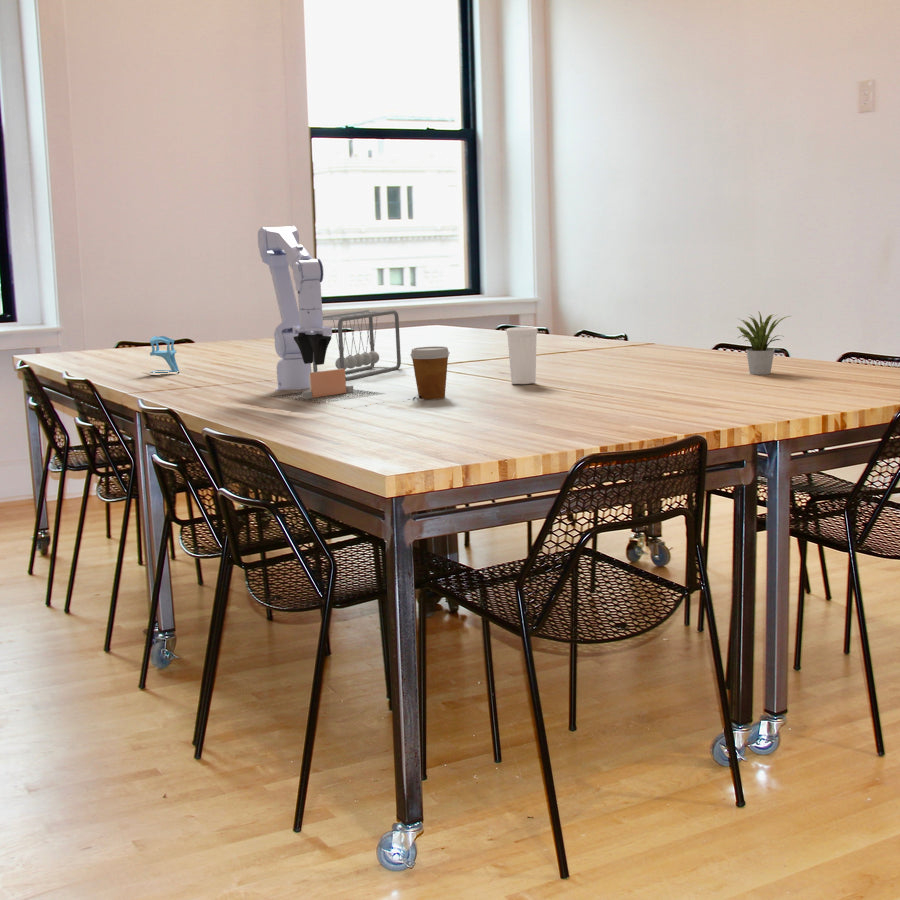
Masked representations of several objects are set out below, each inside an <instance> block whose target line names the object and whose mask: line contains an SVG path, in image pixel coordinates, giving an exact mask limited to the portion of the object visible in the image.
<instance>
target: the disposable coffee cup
mask: <svg viewBox="0 0 900 900" xmlns="http://www.w3.org/2000/svg"><path fill="white" fill-rule="evenodd" d="M409 356H411V357H410V358H411V361H412V364H413V365H412V366H413V370H414V371H413V372H414V377H415V384H416V388H417V394H418V399H419V400H426V401H428V400H430V401H433V400H441V399H442V400H443V399H444V398H445V397H446V390H447V389H446V385H447V376H448V375H447V374H448V362H449V360H448V359H449V356H450V351H449V348H448V346H438V345H437V346H420V347H413V348H412V349H411V353H410V354H409Z"/></svg>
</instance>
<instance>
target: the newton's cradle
mask: <svg viewBox="0 0 900 900" xmlns="http://www.w3.org/2000/svg"><path fill="white" fill-rule="evenodd" d="M387 315H388V316H389V315H394V325H395V326H394V327H395V347H396V350H395V351H396V365H395V366H375V364H377V363H378V362H379V360H380V354H379V353H378V352H377V351H375V343H376V339H375V336H376V335H377V334H376V333H377V329H375V332H374V324H373V318H374V317H381V316H387ZM367 318H368V325H367V322H366V319H367ZM399 318H400V317H399V313H398V312H397V310H396V309H395V310H393V309H391V310H385V311H384V310H381V311H380V310H379V311H370V310H359V311H351V312H345V313H344V312H343V313H338V314H337V313H335V314H329V315H323V321H325V320H326V321H332V322H333V326H334V332H335V336H336V337H335V338H336V341H337V343H338V344H337V346H338V353H339V357H338V358H337V359H336V361H335V363H334V364H335V367H336V369H342V368H343V369H345V374H346V375H350V373H351V374H354V373H355V374H354V375H351V376H346V375H345V379H346V382H348V381H349V382H350V381H354V380H357V379H362V378H366V377H371V376H375V375H380V374H385V373H389V372H392V371H397V370H399V369H400V367H401V364H402V360H401V359H402V357H401V339H400V319H399ZM363 319H364V322H365V328H366V332H367V339H366V344H369V346H370V352H369V351H368V352H367V350H368V347H366V348H365V349H366V350H365V349H364V347H365V346H364V343H363V339H362V332H361V331H362V327H363V323H361V324H360V325H361V327H360V325H359V321H358V320H361V321H363ZM335 320H336V321H337V320H338V322H337V330H336V325H335ZM352 320H354V321H353V325H356V324H355V323H357V325H358V329H359V330H358V331H359V341H360V342H361V343H362V349H363V350H362V351H363V352H362V353H360V352H357V348H356V343H355V338H354V333H355V328H353V329H352V323H351V321H352ZM355 320H356V321H357V322H356V321H355ZM348 321H349V325H350V329H351V331H352V332H351V334H352V341H351V346H353V344H354V348H355V353H356V354H354V355H352V354H353V353H352V352H353V348H351V350H350V351H351V353H350V352H349V348H348V347H349V346H348V343H347V337H346V333H347V329H345V328H344V325H343V322H345V327H347V323H348ZM375 321H376V324H375V326H377V325H378V324H377V323H378V319H376V320H375ZM344 329H345V330H344ZM313 333H314V331H313ZM337 334H338V335H337ZM343 334H344V335H343ZM343 336H344V338H343ZM345 342H346V343H345ZM368 342H369V343H368ZM361 343H359V344H358V345H359V347H358V351H360V348H361ZM344 344H346V348H347V351H348V352H347V353H348V355H347V356H346V357H345V356H344V352H345V351H344V350H345V346H344ZM356 367H357V368H356ZM312 368H313V369H312V370H313V372H318V365H316V364H315V361H314V354H313V363H312ZM347 369H348V370H347ZM371 369H377V370H372V371H369V370H371ZM364 370H365V371H369V372H364ZM359 371H360V372H364V373H360V372H359ZM356 373H359V374H356Z"/></svg>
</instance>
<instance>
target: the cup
mask: <svg viewBox="0 0 900 900" xmlns="http://www.w3.org/2000/svg"><path fill="white" fill-rule="evenodd" d="M538 331H539V329H538V327H536V326H535V327H534V326H521V327H520V326H519V327H516V326H515V327H509V328H506V335H507V342H508V343H507V344H508V357H509V369H510V382H511V384H514V385H526V384H527V385H528V384H529V385H530V384H534V383H536V380H537V335H538Z"/></svg>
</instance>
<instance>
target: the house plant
mask: <svg viewBox="0 0 900 900" xmlns="http://www.w3.org/2000/svg"><path fill="white" fill-rule="evenodd" d="M758 314H759V322H758V321H757V320H756V318H755V317H754V316H753V315H752V314H750V313H749V315H750V316H751V317H750V316H748V318H749V319H750V321H751V323H753V325H752V324H751V323H750V322H748V321H747V320H744V319H740V318H736V319H738V320H740V321H742V322H743V324H744V325H745V326H746V327H747V328H748V330H749V331H750V332H749V331H748V330H747V329H745V328H744V327H741V326H736V328H737V329H739V331H740V333H742V334H741V335H740V336H738V337H737V339H739V338H741V337H744V338H746V339H745V340H744V342H749V343H750V345H751V348H747V349H745V352H746V358H747V364H748V372H749V375H753V376H754V375H756V376H763V375H765V376H766V375H770V374H771V371H772V366H773V363H774V362H773V361H774V356H775V348H772V347H771V348H769V347H768V346H769V345H770V343H772V342H774V341H783V340H782V339H780V338H779V339H778V338H777V337H779V336H780V337H784V338H785V336H784V335H782V334H781V335H779V334H778V335H775V336H773V337H771V334H772V332H773V331H774V329H775V328H776V326H777V325H778V324H779V323H780V322H781V321H783V320H784V319H785V318H789V317H791V315H787V316H784V317H782V318H780V317H778V318H776V319H775V320H774V321H772V323H771V325H770V327H769V329H768V326H769V324H770V322H771V320H772V318H774V317H775V316H777V314H775V315H774V314H770V315H768V316H767V317H766V319H765V321H763V320H762V314H761V312H760V311H758ZM753 326H754V327H753ZM767 329H768V331H767ZM770 338H771V339H770ZM747 339H748V340H747ZM769 339H770V340H769ZM768 341H769V342H768Z"/></svg>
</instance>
